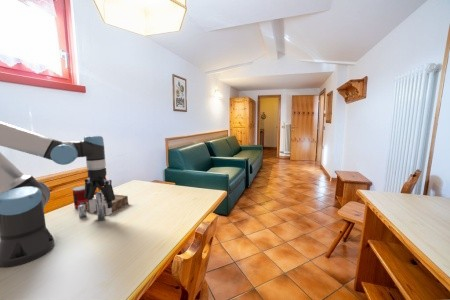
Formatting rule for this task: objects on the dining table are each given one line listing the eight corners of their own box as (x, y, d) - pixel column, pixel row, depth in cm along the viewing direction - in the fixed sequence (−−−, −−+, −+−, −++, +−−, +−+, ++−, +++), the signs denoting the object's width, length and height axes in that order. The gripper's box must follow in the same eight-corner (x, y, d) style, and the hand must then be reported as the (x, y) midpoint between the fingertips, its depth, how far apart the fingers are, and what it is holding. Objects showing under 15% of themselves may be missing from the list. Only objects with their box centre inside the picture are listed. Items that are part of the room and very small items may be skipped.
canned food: (94, 203, 116) (92, 185, 115) (83, 209, 108) (81, 190, 107) (82, 203, 117) (80, 185, 115) (71, 208, 109) (68, 189, 107)
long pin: (101, 221, 95) (98, 193, 93) (96, 220, 96) (93, 193, 94) (106, 218, 98) (104, 191, 96) (101, 217, 99) (99, 191, 97)
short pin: (82, 218, 98) (81, 207, 97) (77, 217, 99) (76, 206, 98) (87, 215, 101) (86, 204, 100) (83, 214, 102) (82, 203, 101)
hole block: (108, 214, 102) (107, 205, 101) (87, 211, 105) (86, 202, 105) (128, 204, 115) (127, 195, 114) (108, 201, 119) (108, 193, 118)
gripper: (121, 167, 94) (125, 212, 97) (86, 165, 99) (90, 207, 103) (108, 171, 87) (112, 219, 90) (71, 168, 92) (76, 213, 95)
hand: (100, 212), depth 96 cm, fingers open, 9 cm apart
